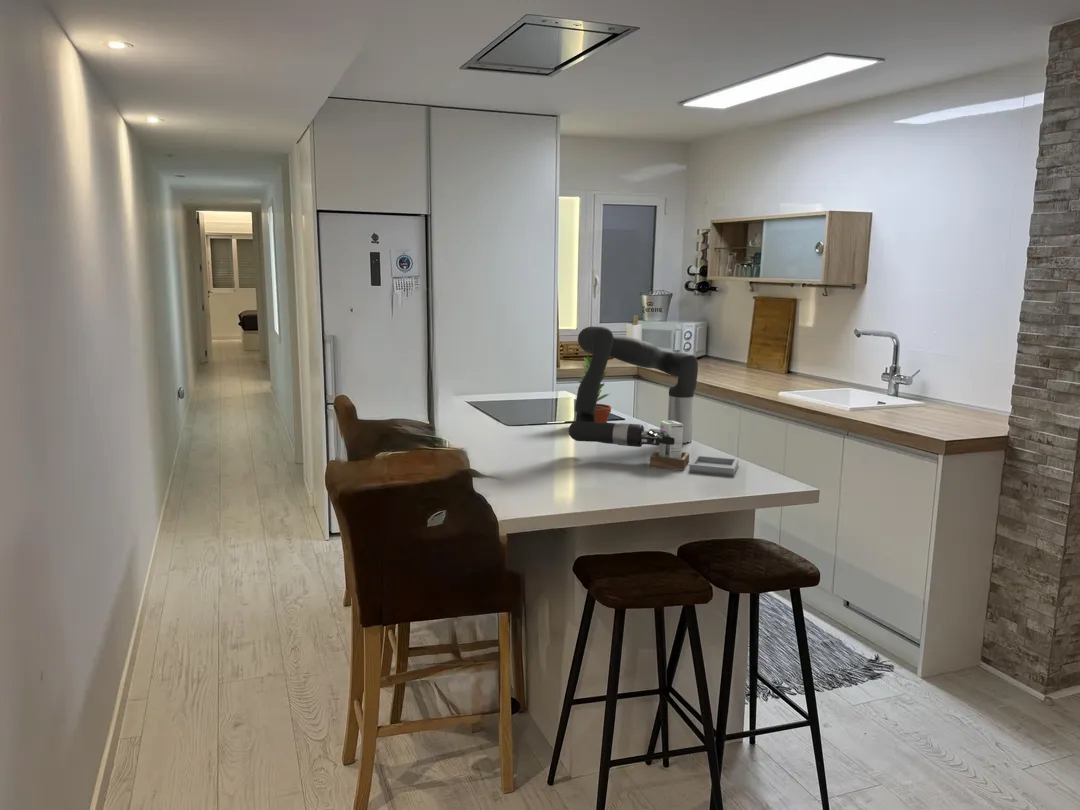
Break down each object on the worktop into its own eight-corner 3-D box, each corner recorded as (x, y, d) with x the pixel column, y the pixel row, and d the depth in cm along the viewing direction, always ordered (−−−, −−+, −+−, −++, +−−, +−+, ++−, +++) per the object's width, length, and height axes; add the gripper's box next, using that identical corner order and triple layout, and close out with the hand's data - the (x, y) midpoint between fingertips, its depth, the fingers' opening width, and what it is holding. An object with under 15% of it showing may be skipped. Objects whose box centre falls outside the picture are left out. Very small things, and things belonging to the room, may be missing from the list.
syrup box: (657, 463, 271) (659, 420, 268) (673, 462, 273) (675, 419, 270) (666, 467, 265) (667, 424, 263) (681, 466, 267) (683, 423, 265)
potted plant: (616, 426, 332) (618, 353, 327) (601, 433, 319) (604, 356, 313) (583, 422, 339) (585, 351, 333) (567, 429, 325) (569, 354, 320)
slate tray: (695, 462, 273) (696, 455, 273) (738, 466, 269) (738, 458, 268) (689, 472, 260) (689, 464, 260) (733, 476, 256) (734, 468, 255)
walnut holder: (656, 459, 276) (656, 449, 275) (688, 462, 272) (689, 452, 272) (649, 467, 266) (650, 456, 265) (683, 470, 262) (684, 459, 261)
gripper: (623, 427, 265) (673, 431, 260) (633, 420, 278) (680, 423, 273) (622, 450, 266) (672, 454, 261) (632, 441, 279) (679, 445, 274)
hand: (676, 438), depth 267 cm, fingers closed on syrup box, 8 cm apart
